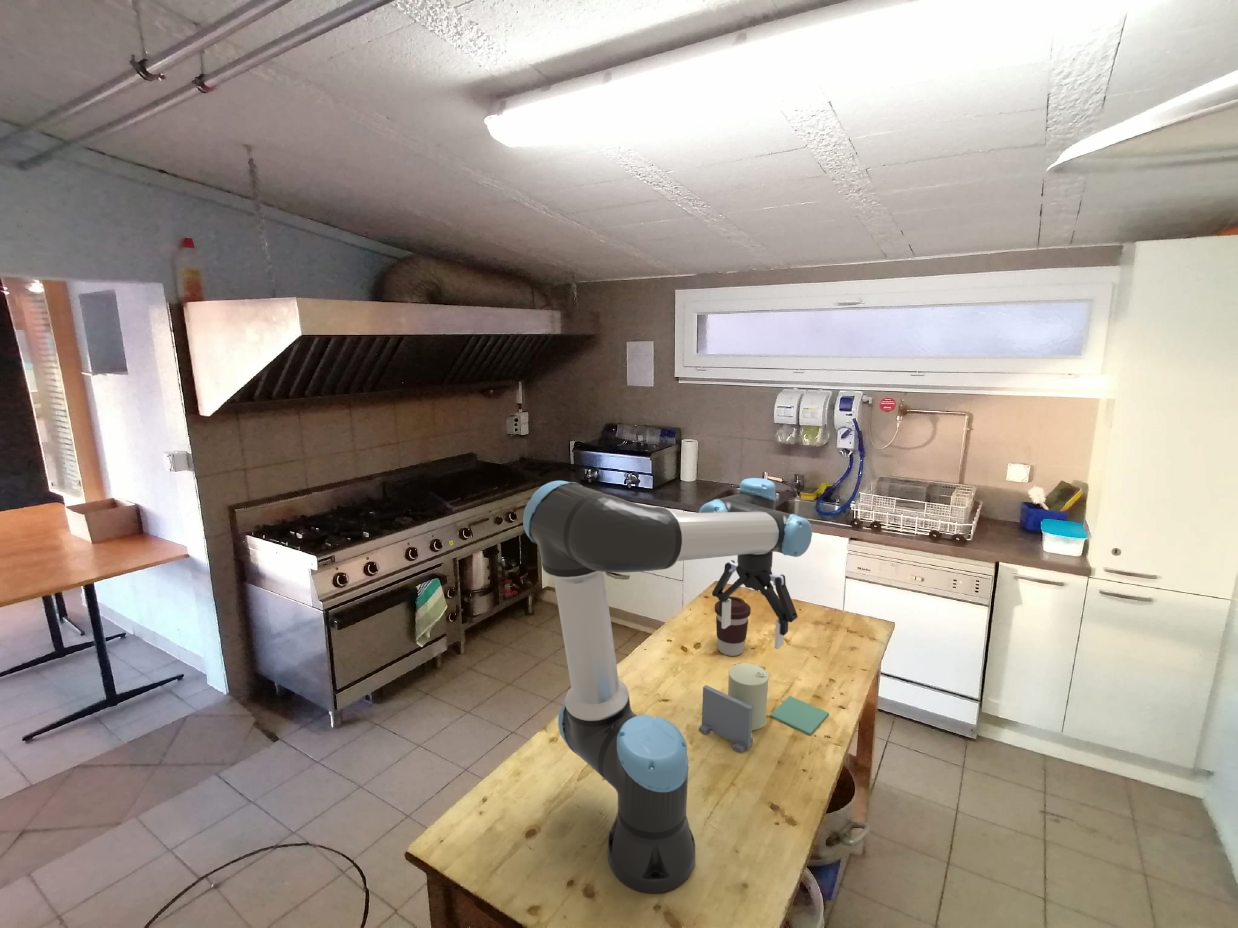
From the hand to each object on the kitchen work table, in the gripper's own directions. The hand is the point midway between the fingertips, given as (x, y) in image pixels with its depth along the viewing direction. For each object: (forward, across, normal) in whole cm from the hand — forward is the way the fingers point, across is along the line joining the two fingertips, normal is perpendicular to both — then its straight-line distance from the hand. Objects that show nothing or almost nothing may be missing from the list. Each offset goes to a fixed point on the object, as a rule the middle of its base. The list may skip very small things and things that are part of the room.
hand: (751, 636), depth 135 cm
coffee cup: (+21, +19, -23) cm, 37 cm away
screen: (+21, 0, +10) cm, 23 cm away
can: (+21, 0, +1) cm, 21 cm away
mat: (+21, -9, -8) cm, 24 cm away
